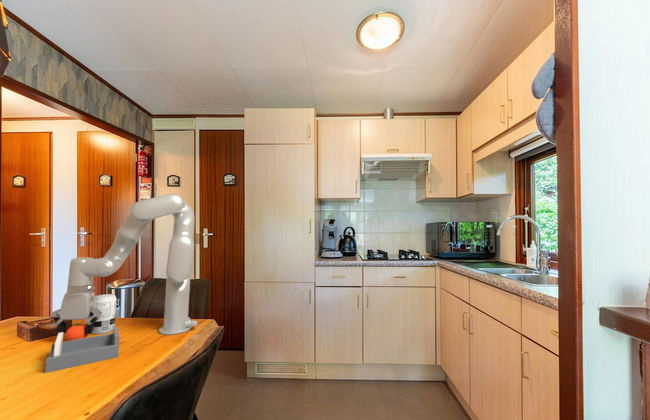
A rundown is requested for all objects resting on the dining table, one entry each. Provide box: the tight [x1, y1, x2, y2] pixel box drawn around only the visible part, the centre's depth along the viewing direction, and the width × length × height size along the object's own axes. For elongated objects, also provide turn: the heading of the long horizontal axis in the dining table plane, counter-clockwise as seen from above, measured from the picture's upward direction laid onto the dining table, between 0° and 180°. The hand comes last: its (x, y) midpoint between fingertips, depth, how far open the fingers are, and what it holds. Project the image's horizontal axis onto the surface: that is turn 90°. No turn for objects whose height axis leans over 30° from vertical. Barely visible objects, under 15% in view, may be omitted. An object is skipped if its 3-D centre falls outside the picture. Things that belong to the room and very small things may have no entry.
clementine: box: [64, 323, 89, 341], centre depth 108 cm, size 8×7×7 cm
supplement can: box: [91, 293, 118, 335], centre depth 121 cm, size 8×8×15 cm
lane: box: [44, 325, 120, 374], centre depth 97 cm, size 18×15×7 cm
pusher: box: [54, 332, 64, 356], centre depth 92 cm, size 1×12×7 cm, turn 40°
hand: (74, 334), depth 108 cm, fingers open, 9 cm apart
